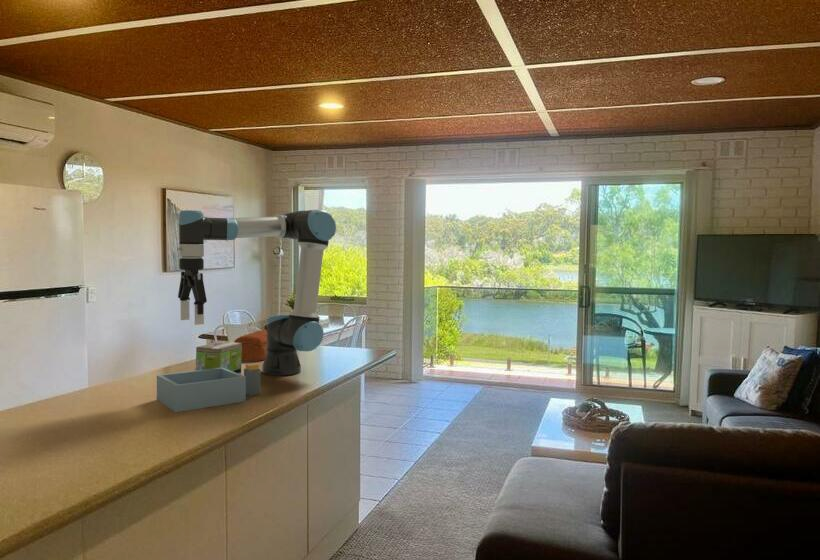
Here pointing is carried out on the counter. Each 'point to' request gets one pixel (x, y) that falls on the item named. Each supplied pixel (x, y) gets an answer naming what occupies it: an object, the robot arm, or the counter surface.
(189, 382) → the walled box
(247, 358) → the bread
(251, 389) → the block
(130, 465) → the counter surface
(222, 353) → the tea box
